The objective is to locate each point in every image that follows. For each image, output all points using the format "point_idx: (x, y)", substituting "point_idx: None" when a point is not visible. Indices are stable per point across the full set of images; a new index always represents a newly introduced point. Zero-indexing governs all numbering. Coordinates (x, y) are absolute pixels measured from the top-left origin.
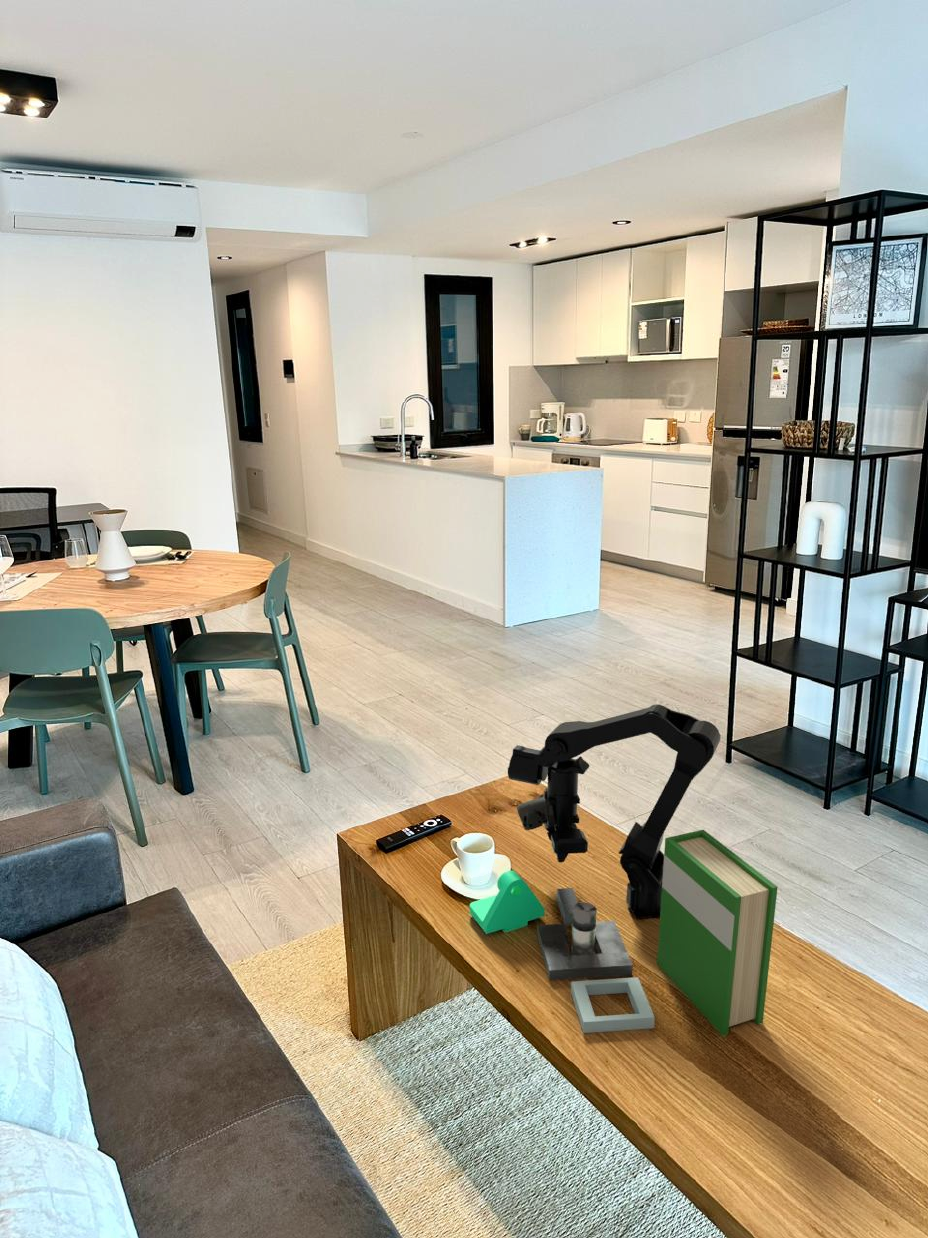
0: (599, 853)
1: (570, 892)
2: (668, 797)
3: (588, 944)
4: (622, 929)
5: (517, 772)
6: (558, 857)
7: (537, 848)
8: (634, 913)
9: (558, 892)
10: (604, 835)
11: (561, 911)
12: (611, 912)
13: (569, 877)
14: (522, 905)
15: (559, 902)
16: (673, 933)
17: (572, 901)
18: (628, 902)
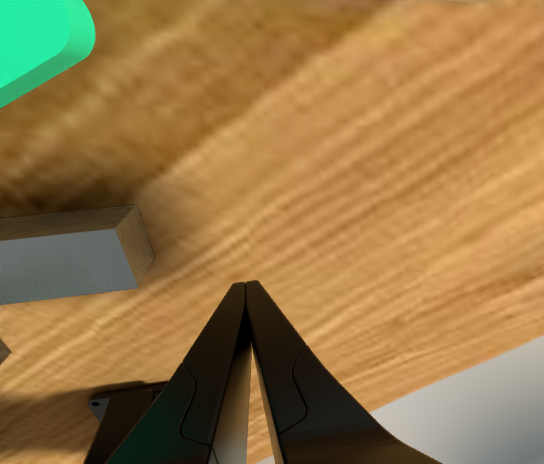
0: (409, 336)
1: (99, 280)
2: None
3: None
4: (29, 368)
5: None
6: (217, 311)
7: (513, 155)
8: (101, 399)
9: (82, 233)
10: (489, 348)
11: (24, 221)
12: (108, 350)
13: (294, 256)
14: None
15: (62, 222)
16: None
17: (25, 284)
18: (126, 403)
